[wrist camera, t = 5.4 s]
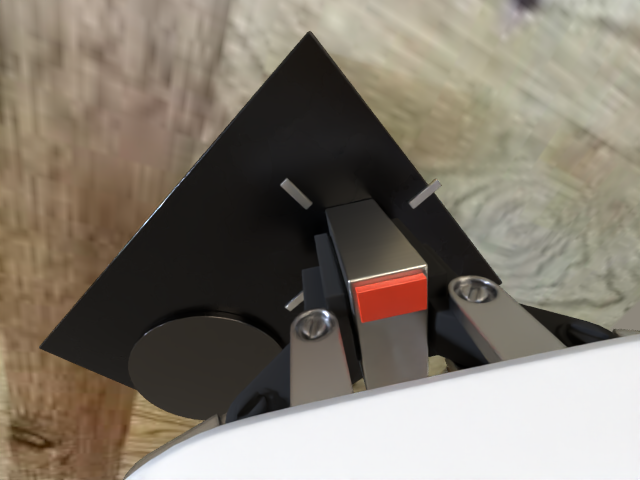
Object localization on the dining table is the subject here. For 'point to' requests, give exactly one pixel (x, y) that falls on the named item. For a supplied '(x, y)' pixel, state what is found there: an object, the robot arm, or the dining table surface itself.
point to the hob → (259, 217)
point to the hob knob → (382, 293)
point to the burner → (200, 361)
